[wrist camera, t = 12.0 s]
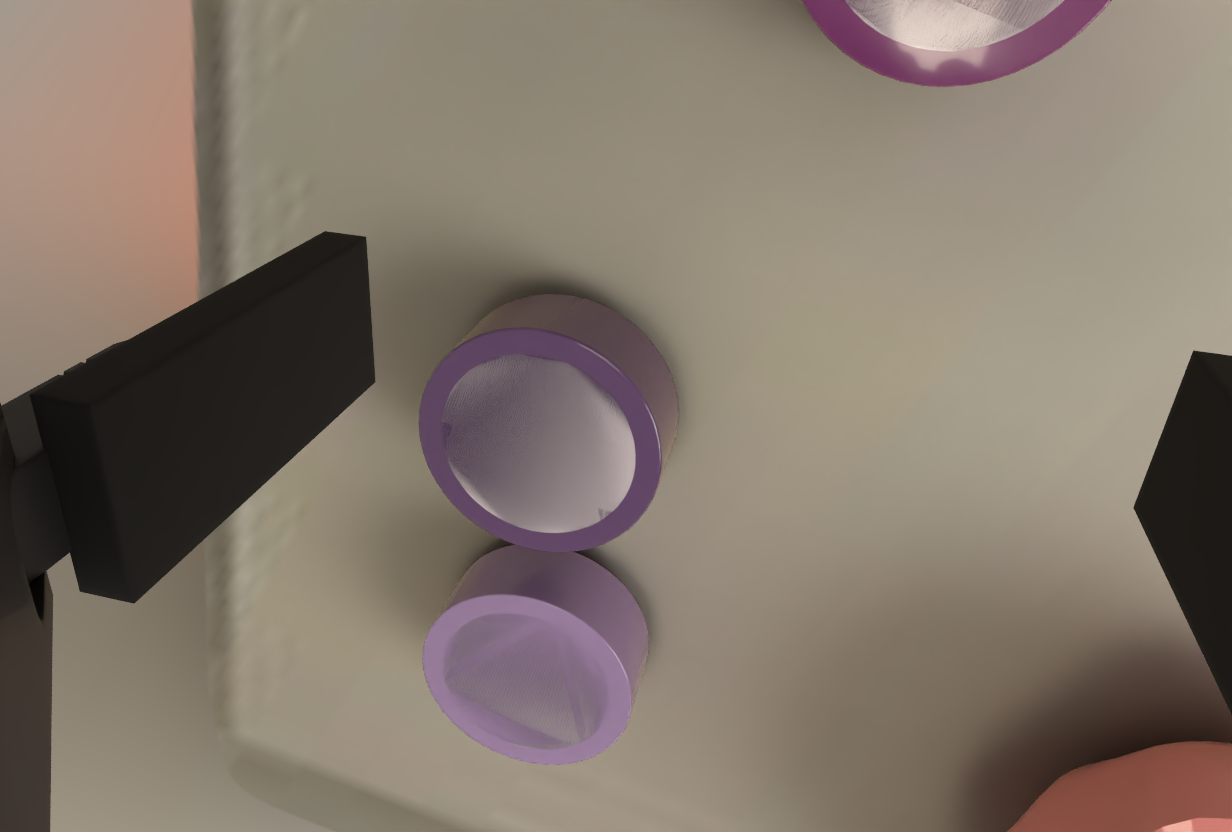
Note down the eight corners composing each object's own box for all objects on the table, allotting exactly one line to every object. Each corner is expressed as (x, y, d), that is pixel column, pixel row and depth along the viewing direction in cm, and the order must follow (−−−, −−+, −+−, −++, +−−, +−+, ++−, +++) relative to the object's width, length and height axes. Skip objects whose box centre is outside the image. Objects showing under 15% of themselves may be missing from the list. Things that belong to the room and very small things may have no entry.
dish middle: (463, 469, 36) (419, 526, 32) (464, 267, 32) (415, 308, 28) (670, 510, 34) (648, 575, 31) (697, 306, 31) (675, 353, 27)
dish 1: (461, 667, 40) (422, 736, 37) (462, 513, 37) (420, 573, 33) (643, 711, 39) (621, 786, 36) (663, 555, 35) (642, 622, 32)
